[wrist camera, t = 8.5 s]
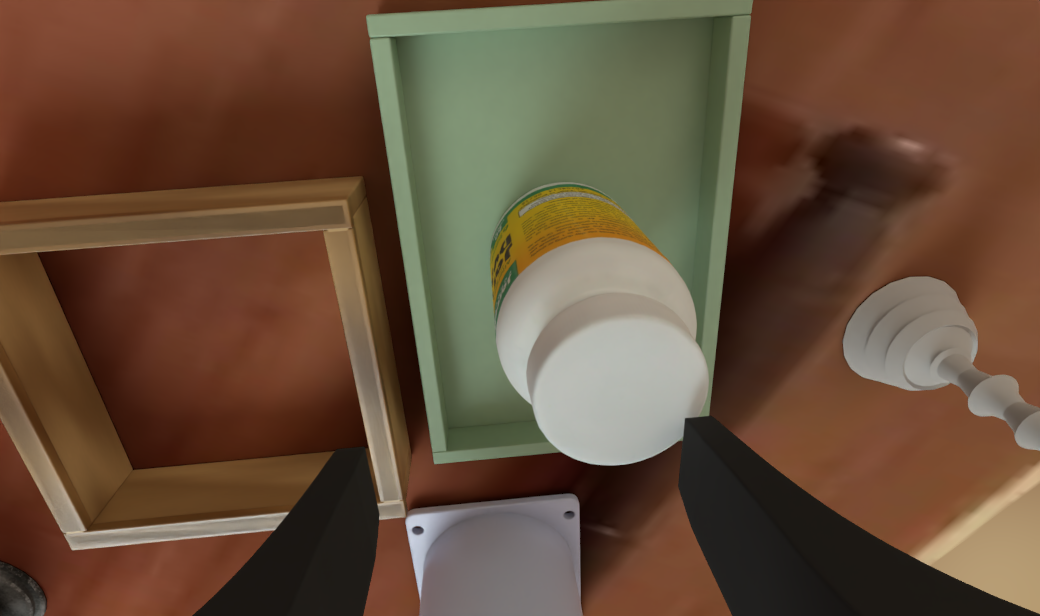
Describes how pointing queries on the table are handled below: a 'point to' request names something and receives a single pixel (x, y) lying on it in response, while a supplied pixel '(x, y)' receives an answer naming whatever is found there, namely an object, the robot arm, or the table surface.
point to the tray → (549, 167)
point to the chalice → (932, 351)
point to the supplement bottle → (594, 326)
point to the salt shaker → (19, 593)
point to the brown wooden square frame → (79, 407)
